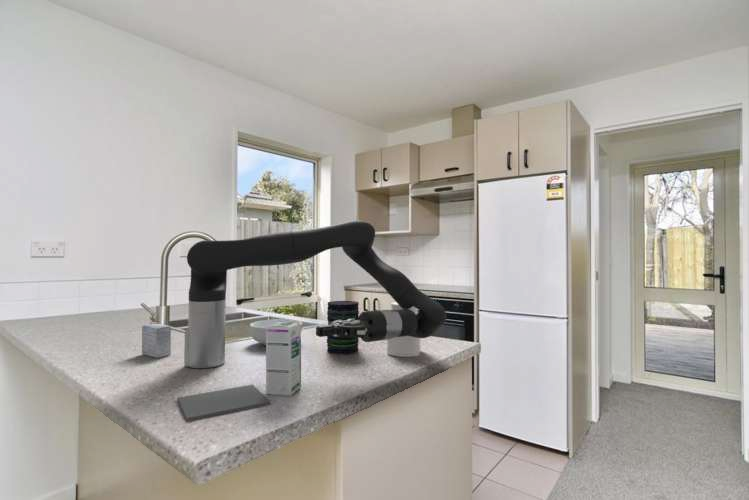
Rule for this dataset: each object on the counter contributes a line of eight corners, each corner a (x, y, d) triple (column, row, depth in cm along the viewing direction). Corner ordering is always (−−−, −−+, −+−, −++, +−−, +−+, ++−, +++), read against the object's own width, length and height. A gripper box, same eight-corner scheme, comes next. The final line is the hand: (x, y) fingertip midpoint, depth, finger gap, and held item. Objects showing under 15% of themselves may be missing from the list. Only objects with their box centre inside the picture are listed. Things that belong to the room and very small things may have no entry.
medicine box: (171, 355, 115) (171, 325, 115) (155, 358, 111) (156, 328, 111) (156, 351, 119) (157, 323, 119) (141, 354, 115) (141, 325, 116)
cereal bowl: (238, 347, 126) (238, 325, 126) (269, 337, 141) (269, 317, 141) (284, 352, 120) (284, 328, 120) (311, 341, 135) (311, 320, 135)
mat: (252, 387, 87) (252, 384, 87) (270, 404, 77) (270, 401, 77) (177, 400, 79) (177, 397, 79) (186, 421, 69) (186, 418, 69)
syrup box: (290, 396, 82) (291, 326, 82) (264, 394, 83) (265, 325, 83) (301, 387, 87) (302, 322, 88) (276, 385, 88) (277, 321, 89)
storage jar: (345, 356, 115) (346, 305, 115) (320, 351, 120) (320, 303, 121) (364, 349, 123) (365, 302, 124) (340, 345, 129) (340, 300, 129)
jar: (391, 347, 127) (391, 300, 127) (421, 348, 125) (421, 301, 125) (385, 356, 116) (386, 305, 116) (418, 357, 114) (418, 306, 114)
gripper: (365, 307, 105) (305, 311, 95) (395, 313, 94) (330, 319, 84) (365, 335, 105) (305, 342, 95) (395, 345, 94) (330, 354, 84)
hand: (317, 331), depth 90 cm, fingers closed
